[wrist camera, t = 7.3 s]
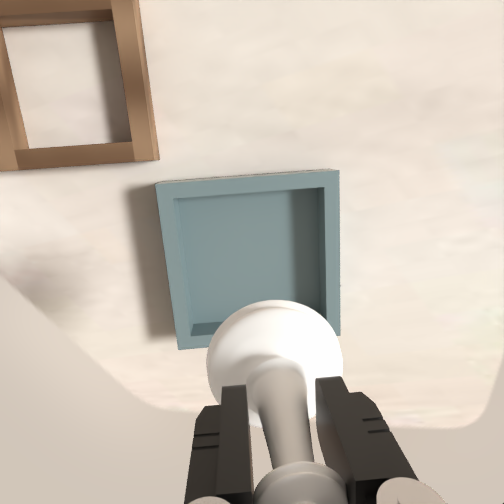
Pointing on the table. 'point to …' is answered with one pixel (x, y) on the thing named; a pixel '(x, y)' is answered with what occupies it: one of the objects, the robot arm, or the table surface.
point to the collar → (133, 73)
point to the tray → (249, 246)
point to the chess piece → (281, 392)
